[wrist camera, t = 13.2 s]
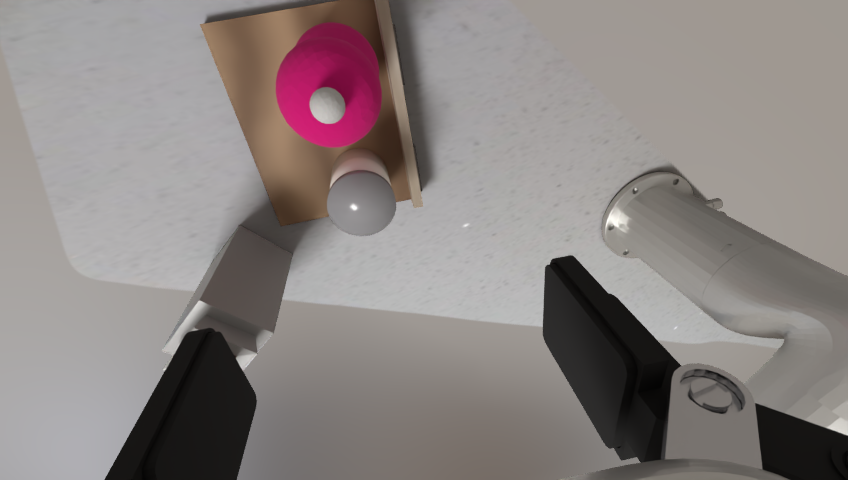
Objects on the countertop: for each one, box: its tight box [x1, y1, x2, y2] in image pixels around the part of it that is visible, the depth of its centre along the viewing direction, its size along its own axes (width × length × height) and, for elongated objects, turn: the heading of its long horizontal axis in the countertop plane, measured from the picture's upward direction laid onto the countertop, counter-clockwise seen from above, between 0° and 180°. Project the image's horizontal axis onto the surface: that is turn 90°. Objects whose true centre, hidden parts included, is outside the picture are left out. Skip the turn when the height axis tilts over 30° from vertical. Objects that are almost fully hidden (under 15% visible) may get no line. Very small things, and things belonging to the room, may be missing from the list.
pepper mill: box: [276, 22, 382, 148], centre depth 27 cm, size 7×7×20 cm
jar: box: [327, 148, 396, 236], centre depth 38 cm, size 6×6×8 cm
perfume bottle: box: [162, 225, 293, 370], centre depth 38 cm, size 7×7×18 cm
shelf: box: [200, 0, 423, 226], centre depth 37 cm, size 16×20×4 cm
